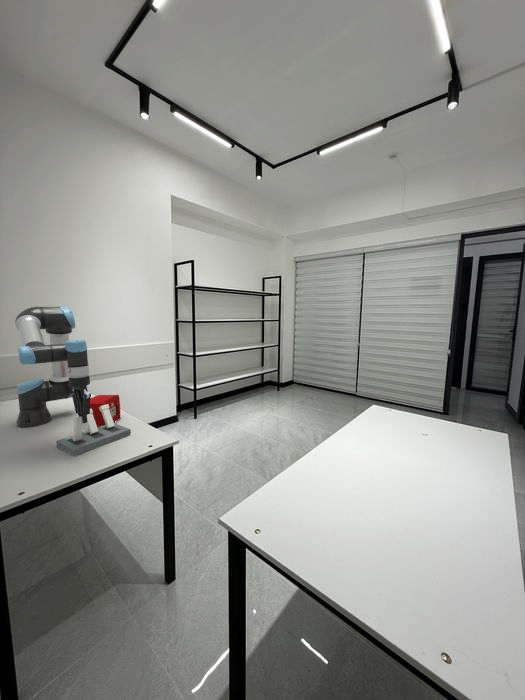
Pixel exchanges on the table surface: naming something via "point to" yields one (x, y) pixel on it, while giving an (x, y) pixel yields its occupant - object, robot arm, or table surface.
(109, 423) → the handle
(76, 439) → the handle
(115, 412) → the fire alarm
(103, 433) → the breaker panel
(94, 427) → the handle
